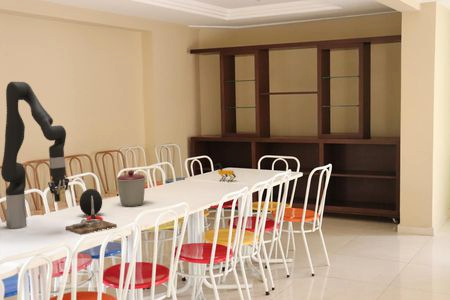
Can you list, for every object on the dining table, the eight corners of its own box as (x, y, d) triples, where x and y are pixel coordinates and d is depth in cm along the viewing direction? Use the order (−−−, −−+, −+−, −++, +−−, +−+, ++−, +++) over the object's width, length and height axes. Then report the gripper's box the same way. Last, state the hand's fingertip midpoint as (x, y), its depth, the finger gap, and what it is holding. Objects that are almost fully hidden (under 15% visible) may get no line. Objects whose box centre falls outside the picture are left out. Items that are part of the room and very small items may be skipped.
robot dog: (216, 179, 447) (215, 162, 445) (236, 181, 437) (235, 163, 435) (212, 181, 442) (211, 163, 441) (232, 182, 432) (231, 164, 431)
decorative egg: (76, 215, 333) (74, 189, 332) (96, 212, 341) (95, 186, 339) (86, 218, 324) (85, 191, 322) (107, 215, 332) (105, 188, 330)
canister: (141, 208, 349) (139, 172, 347) (112, 207, 352) (110, 172, 350) (151, 202, 366) (149, 168, 364) (123, 201, 370) (121, 168, 368)
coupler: (61, 202, 293) (60, 190, 292) (54, 202, 294) (53, 190, 294) (65, 200, 296) (65, 188, 296) (59, 200, 298) (58, 188, 297)
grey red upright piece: (104, 221, 318) (100, 217, 326) (103, 198, 316) (99, 194, 324) (88, 223, 314) (85, 219, 323) (87, 199, 312) (83, 196, 321)
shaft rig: (81, 234, 288) (80, 227, 288) (65, 229, 300) (65, 222, 300) (116, 227, 302) (116, 220, 301) (100, 222, 314) (100, 215, 313)
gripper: (60, 164, 301) (62, 197, 303) (42, 168, 288) (44, 203, 290) (72, 164, 299) (74, 198, 300) (54, 168, 286) (57, 203, 287)
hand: (60, 200), depth 295 cm, fingers closed on coupler, 4 cm apart
